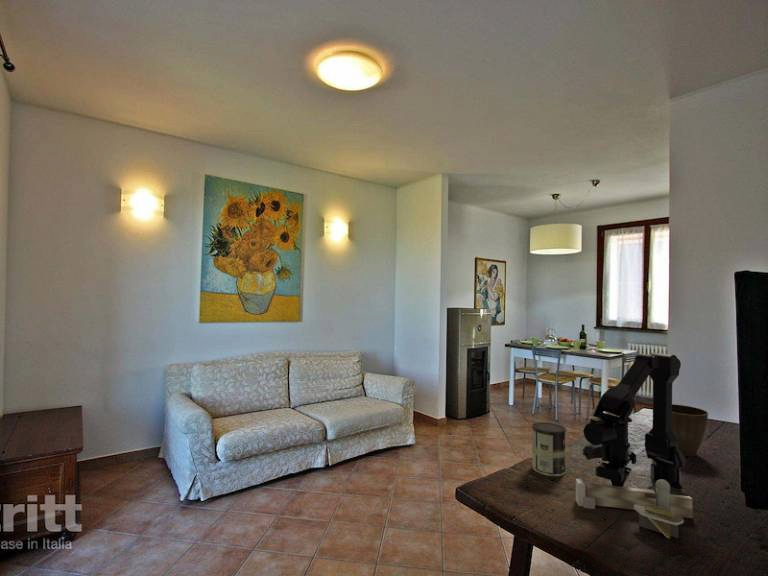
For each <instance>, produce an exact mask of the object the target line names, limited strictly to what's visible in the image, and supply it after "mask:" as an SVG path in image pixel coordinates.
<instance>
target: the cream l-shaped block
mask: <svg viewBox="0 0 768 576" xmlns="http://www.w3.org/2000/svg"><path fill="white" fill-rule="evenodd" d="M575 501H576V504H577V506H579V507H583V508H585V509H592V510H595V509H596V505H595V499H594V498H591V497H586V483H585V482H584V481H583V479H582V478H581V479H580V478H575Z"/></svg>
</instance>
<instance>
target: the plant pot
mask: <svg viewBox="0 0 768 576" xmlns="http://www.w3.org/2000/svg"><path fill="white" fill-rule="evenodd" d="M708 419H709V412H708V411H707V410H704V409H702V408H699V407H698V408H697V407H694V406H688V405H683V404H673V403H672V432H673V433H674V435H675V436H676V438H677V440H678V445H679V450H680V451H681V452H682V454H683V455H684V457H695V456H696V455H697V454H698V451H699V449H700V446H701V445H702V442H703V439H704V435H705V432H706V428H707V422H708Z"/></svg>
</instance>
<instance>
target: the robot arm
mask: <svg viewBox="0 0 768 576" xmlns="http://www.w3.org/2000/svg"><path fill="white" fill-rule="evenodd" d="M634 358H635V359H634V362H633V363H632V364H631V366H629V369H628V370H627V371H626V373H625V374H624V376H623V377H622V379H620V381H619V383H618V384H617V385H614V386H613V387H610V388H608V389H607V390H606V391H605V392H604V393H602V395H601V396H600V399H599V401H598V403H597V405H596V407H595V410H594V412H593V418H590V419H589V423H587V424H585V426H584V428H583V436H584V438H585V439H586V442H587V443H589V444H586V445H585V446H584V447H583V448H582V455H583V456H584V457H585V458H586V460H592V459H594V460H595V459H601V461H602V462H600V463H599V464H598V465H597V466H596V468H595V476H596V477H598V478H601V479H606V480H609V481H610V483H611V485H612V486H621V487H625V484H626V482H627V480H628V479H629V476H630V473H631V472H632V468H630V467H628V464H629V463H630V461H631V464H632V465H636V463H637V454H636V453H635V452H634V451H632V450H629V449H630V447H631V442H629V423H632V422H633V419H632V418H631V417H630V416H631V414H632V413H633V411H634V408H635V406H636V400H635V397H636V395H637V394H638V392H639V390H640V389H641V387H642V386H643V385H644V383H645V382H646V380H647V379H648V377H650V379H651V380H652V428H651V429H650V430H649V431H648V432H646V433H645V434H644V449H645V454H646V458H647V459H650V460H651V462H652V463H650V475H649V477H650V478H651V479H652V480H653V481H654V482H655V483H656V481H657V480H659V479H663V480H665V481H667V482H668V483H669V485H670V487H676V488H683V485H682V484H681V483H680V481H681V480H680V479H681V478H680V471H681V470H680V469H684V467H685V465H686V459H687V458H686V456H684V455H683V454H682V452H681V451H680V450H679V445H678V440H677V438H676V436H675V435H674V433H673V432H672V404H673V383H674V382H675V380H676V379H677V378H678V377H679V375H680V369H681V368H682V367H681V366H682V363H681V360H680V358H678V357H677V355H676V354H668V353H664V352H663V353H662V352H654V351H652V352H650V353H649V354H645V353H637V354H636V355H635V357H634ZM594 417H595V418H594Z"/></svg>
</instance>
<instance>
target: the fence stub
mask: <svg viewBox="0 0 768 576" xmlns="http://www.w3.org/2000/svg"><path fill="white" fill-rule="evenodd" d="M672 510H673V511H674V515H675V516H679V517H682V518H687V519H688V518H689V519H693V517H694V516H693V498H692V497H691V496H687V495H681V494H680V495H679V494H671V493H670V514H671V513H673V511H672ZM672 515H673V514H672Z"/></svg>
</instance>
